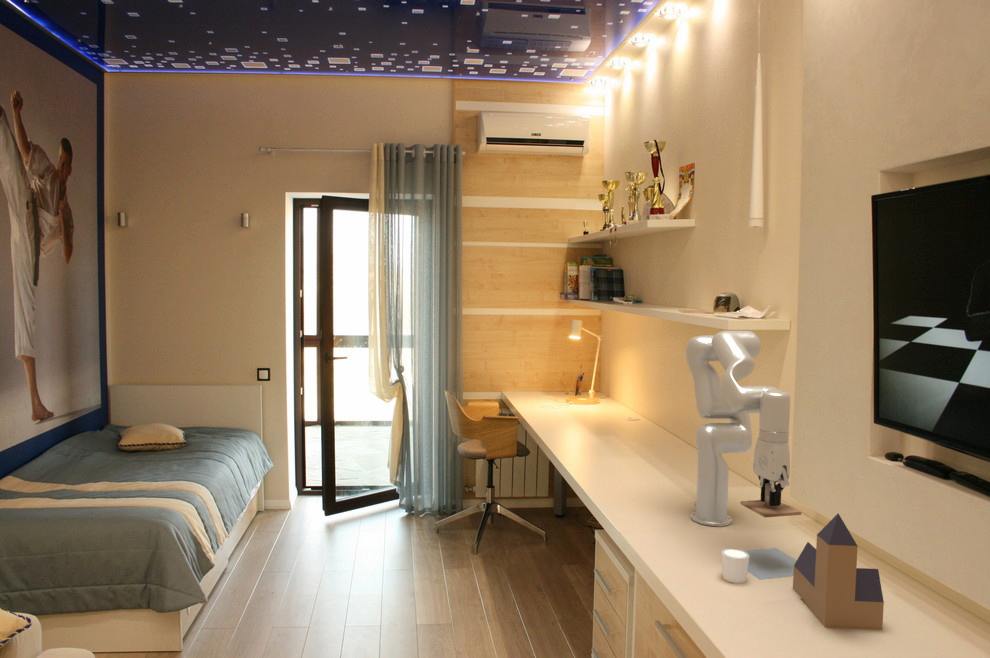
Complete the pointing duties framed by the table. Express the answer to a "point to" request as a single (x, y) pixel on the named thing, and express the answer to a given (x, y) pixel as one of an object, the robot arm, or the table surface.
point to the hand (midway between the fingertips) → (770, 502)
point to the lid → (768, 510)
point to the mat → (770, 563)
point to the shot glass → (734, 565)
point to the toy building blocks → (838, 581)
